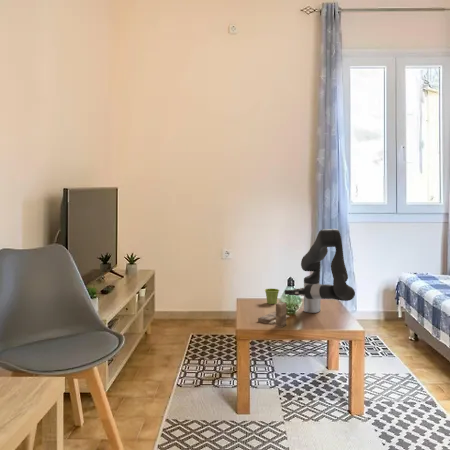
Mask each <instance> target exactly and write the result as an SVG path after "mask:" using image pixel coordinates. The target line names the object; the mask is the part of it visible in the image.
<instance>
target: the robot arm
mask: <svg viewBox="0 0 450 450" xmlns="http://www.w3.org/2000/svg"><path fill="white" fill-rule="evenodd" d="M328 248H335V252H334V253H335V254H334V255H333V258H332V259H331V263H330V271H331V276H332V278H333V279H332V280H333V281H332V284H328V283H327V284H321V283H320V281H321V280H320V279H321V261H322V260H324V259H325V257H327V255H328V251H329V250H328ZM343 249H344V247H343V242H342V236H341V232H340V230H339V229H337V228H323V229H320V230H319V231H318V234H317V235H316V238H315V241H314V242H313V244H312V245H311V246H310V248H309V250H308V251H307V253H306V254H305V255H303V257H302V258H301V262H300V266H301V269H302V270H303V272H312V273H311V274H310V275H306V276H305V277H304V278H303V287H300V288H294V289H286V290H285V289H284V295H289V296H295V297H297V296H298V297H299V296H300V297H303V312H305V313H309V314H312V313H313V314H315V313H316V314H317V313H320V311H321V300H335V301H336V300H337V301H341V302H348V301H351V300H353V299H354V298H355V295H356V292H355V289H354V288H353V287H351V286H350V285H349V284H347V281H348V279H349V274H348V272H347V271H348V270H347V268H346V264H345V258H344V251H343Z"/></svg>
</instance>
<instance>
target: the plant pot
mask: <svg viewBox="0 0 450 450" xmlns="http://www.w3.org/2000/svg"><path fill="white" fill-rule="evenodd" d="M264 291H265V295H266V303H267V304H268V305H271V304H272V305H276V303H278V296H279V292H280V289H278V288H266V289H265V288H264Z"/></svg>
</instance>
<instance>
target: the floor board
mask: <svg viewBox="0 0 450 450" xmlns="http://www.w3.org/2000/svg"><path fill="white" fill-rule="evenodd" d="M289 318H290V315H287V314H286V320H287V319H289ZM257 322H258V323H263V324H264V323H265V324H269V325H270V324H271V325H274V324H275V325H276V311H273V312H270V313H268V314H264V315H262V316H260V317H258V318H257Z"/></svg>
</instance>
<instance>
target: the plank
mask: <svg viewBox="0 0 450 450" xmlns="http://www.w3.org/2000/svg"><path fill="white" fill-rule="evenodd" d="M275 312H276V323H275V327H278V328H282V327H285V326H287V319H286V315H287V302H285V301H283V302H282V301H279V302H277V303H276V304H275Z"/></svg>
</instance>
